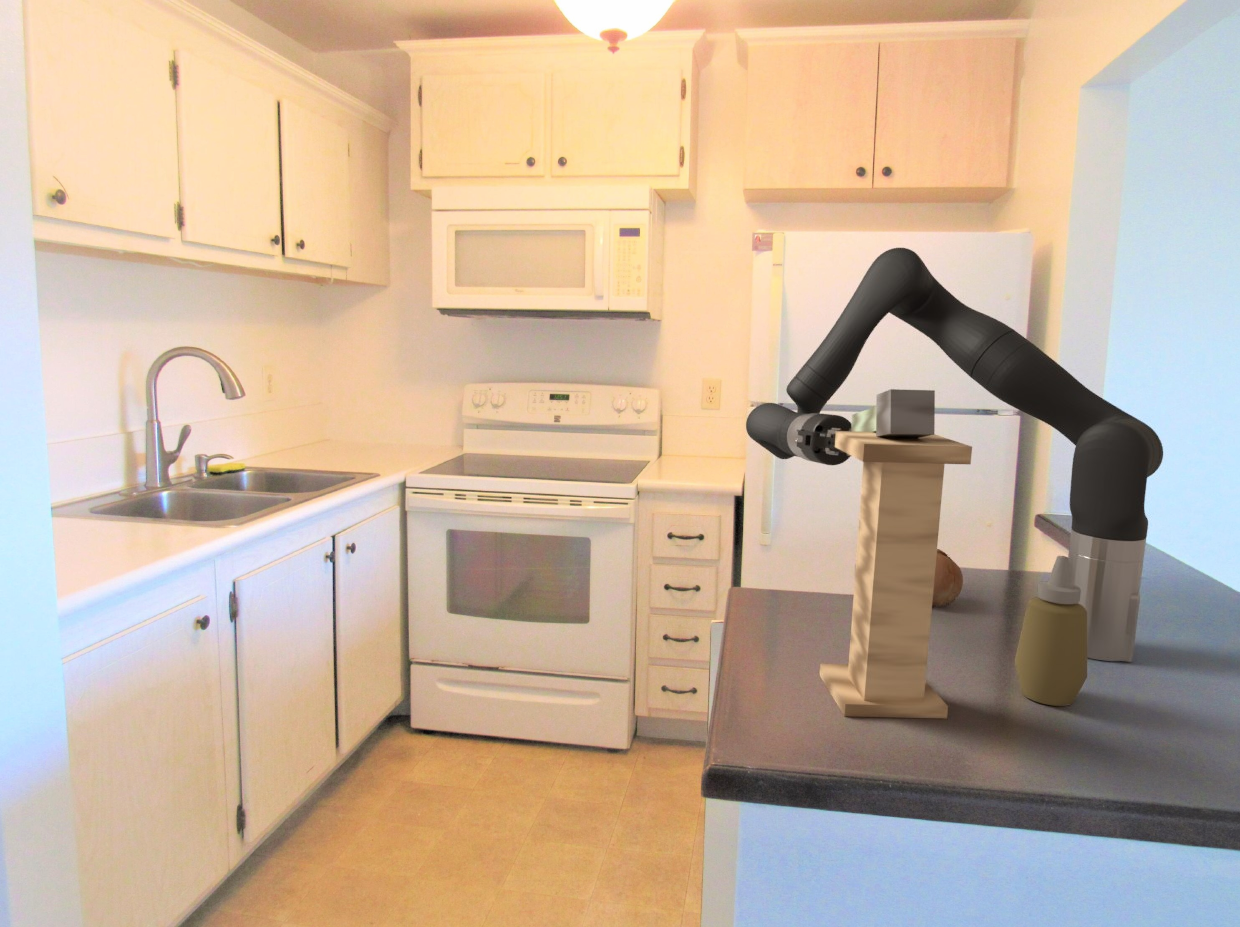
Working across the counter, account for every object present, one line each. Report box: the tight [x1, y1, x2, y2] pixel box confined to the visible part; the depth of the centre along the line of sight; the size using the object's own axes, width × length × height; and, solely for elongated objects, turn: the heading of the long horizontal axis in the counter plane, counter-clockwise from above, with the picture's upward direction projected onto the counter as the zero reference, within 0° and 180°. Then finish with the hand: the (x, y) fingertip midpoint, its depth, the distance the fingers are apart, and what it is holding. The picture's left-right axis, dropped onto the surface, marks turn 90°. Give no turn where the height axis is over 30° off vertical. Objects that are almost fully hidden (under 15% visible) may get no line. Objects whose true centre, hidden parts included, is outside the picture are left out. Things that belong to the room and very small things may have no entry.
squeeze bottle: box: [1014, 555, 1088, 707], centre depth 104 cm, size 8×8×18 cm
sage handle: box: [851, 388, 936, 438], centre depth 105 cm, size 18×5×5 cm, turn 1°
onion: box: [932, 548, 964, 607], centre depth 140 cm, size 10×9×10 cm
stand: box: [819, 431, 973, 719], centre depth 102 cm, size 12×12×32 cm
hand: (876, 447), depth 114 cm, fingers open, 8 cm apart
